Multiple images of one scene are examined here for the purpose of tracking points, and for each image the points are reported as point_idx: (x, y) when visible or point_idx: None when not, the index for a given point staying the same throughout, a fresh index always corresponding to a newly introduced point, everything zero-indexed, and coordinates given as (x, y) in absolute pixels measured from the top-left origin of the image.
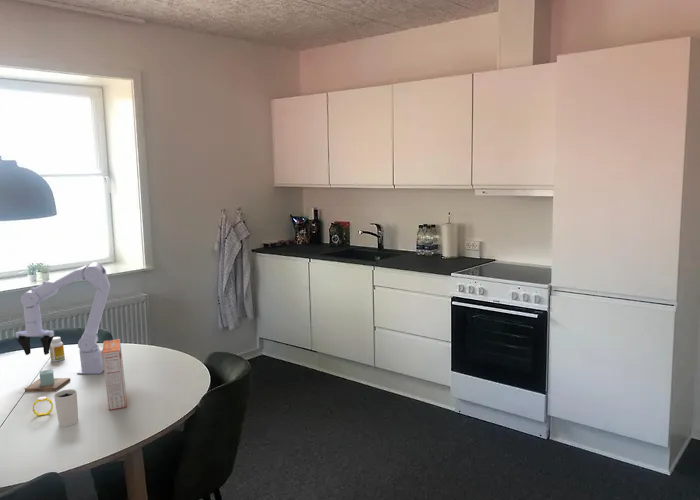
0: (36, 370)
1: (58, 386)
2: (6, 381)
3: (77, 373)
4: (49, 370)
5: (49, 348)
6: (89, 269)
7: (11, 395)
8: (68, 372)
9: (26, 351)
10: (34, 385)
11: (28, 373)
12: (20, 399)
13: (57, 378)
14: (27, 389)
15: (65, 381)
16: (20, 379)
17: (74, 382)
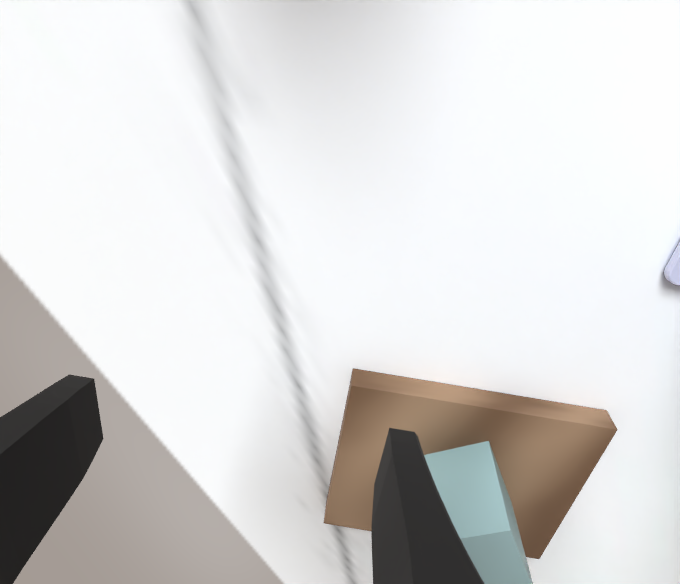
0: (150, 49)
1: (551, 537)
2: (55, 310)
3: (667, 278)
4: (488, 551)
5: (437, 493)
6: None
7: (269, 530)
8: (557, 198)
9: (67, 498)
10: (369, 495)
11: (119, 140)
12: (354, 579)
13: (509, 416)
14: (343, 521)
15: (587, 474)
16: (148, 290)
17: (644, 439)
